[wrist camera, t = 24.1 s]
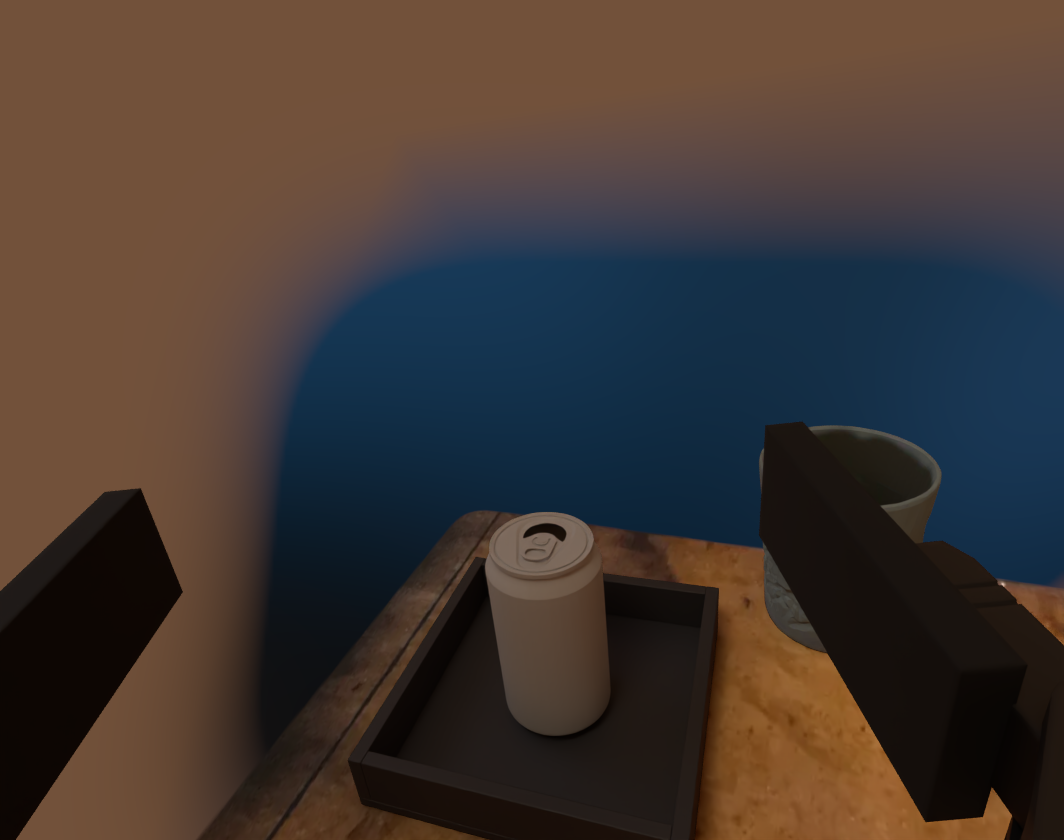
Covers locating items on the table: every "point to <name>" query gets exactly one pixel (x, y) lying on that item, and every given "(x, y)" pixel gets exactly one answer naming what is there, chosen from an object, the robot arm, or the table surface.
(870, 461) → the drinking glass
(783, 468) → the robot arm
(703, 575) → the table surface
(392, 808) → the tray
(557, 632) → the beverage can
